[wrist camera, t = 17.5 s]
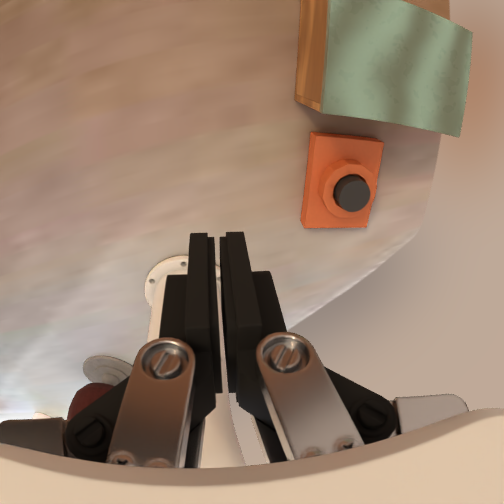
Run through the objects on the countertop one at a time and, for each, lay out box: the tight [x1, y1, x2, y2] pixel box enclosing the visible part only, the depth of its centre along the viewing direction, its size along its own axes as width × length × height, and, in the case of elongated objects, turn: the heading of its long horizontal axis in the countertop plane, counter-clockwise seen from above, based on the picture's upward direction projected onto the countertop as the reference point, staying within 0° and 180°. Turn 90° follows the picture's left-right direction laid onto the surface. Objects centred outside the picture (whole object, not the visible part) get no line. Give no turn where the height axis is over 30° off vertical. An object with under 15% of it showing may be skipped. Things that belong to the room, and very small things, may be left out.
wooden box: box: [294, 0, 328, 112], centre depth 26 cm, size 16×13×9 cm
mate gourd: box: [67, 356, 133, 420], centre depth 47 cm, size 16×14×20 cm
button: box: [334, 175, 370, 212], centre depth 35 cm, size 4×4×2 cm
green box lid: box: [320, 0, 472, 137], centre depth 22 cm, size 16×13×1 cm
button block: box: [300, 132, 384, 228], centre depth 37 cm, size 12×9×4 cm
